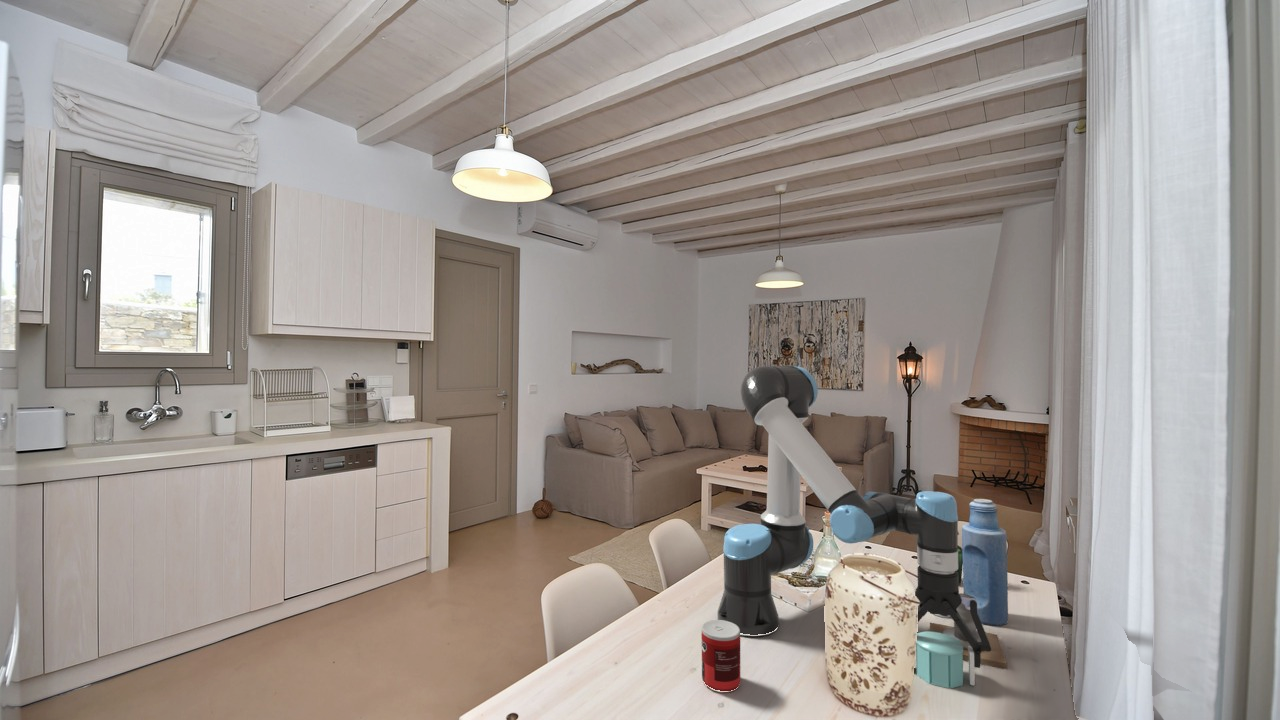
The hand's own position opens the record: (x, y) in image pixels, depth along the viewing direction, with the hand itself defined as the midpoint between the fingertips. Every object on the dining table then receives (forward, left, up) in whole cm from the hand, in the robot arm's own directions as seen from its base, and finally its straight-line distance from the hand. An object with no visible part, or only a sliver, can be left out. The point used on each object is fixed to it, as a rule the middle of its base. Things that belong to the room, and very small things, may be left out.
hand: (939, 674), depth 113 cm
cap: (0, 0, 0) cm, 0 cm away
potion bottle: (+5, +58, 0) cm, 58 cm away
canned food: (-40, -22, 0) cm, 46 cm away
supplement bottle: (+2, +33, 0) cm, 33 cm away
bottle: (+12, +35, 0) cm, 37 cm away
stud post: (+6, +16, 0) cm, 17 cm away
